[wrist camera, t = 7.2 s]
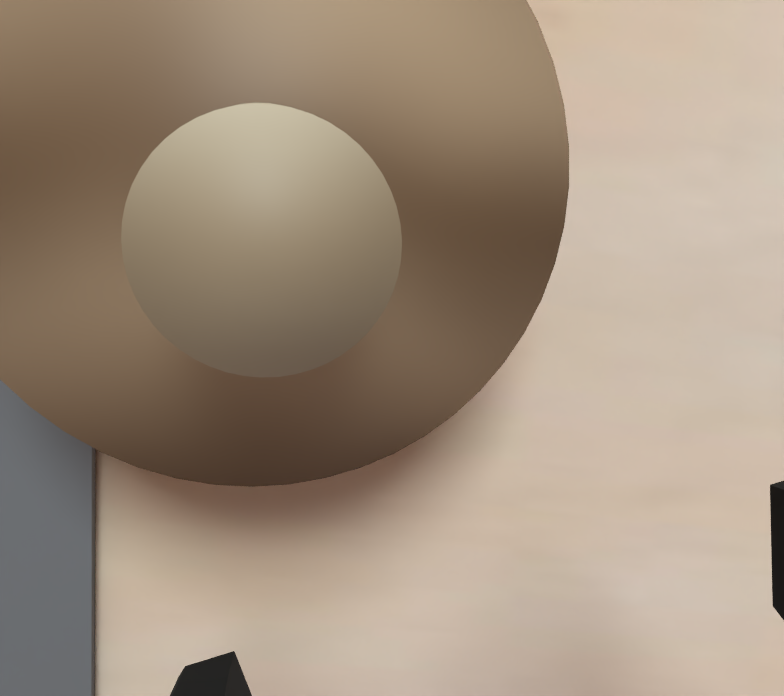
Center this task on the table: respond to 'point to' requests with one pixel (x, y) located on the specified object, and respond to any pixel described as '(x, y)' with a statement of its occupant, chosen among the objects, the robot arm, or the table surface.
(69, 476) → the mat
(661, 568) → the table surface
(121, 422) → the lid
